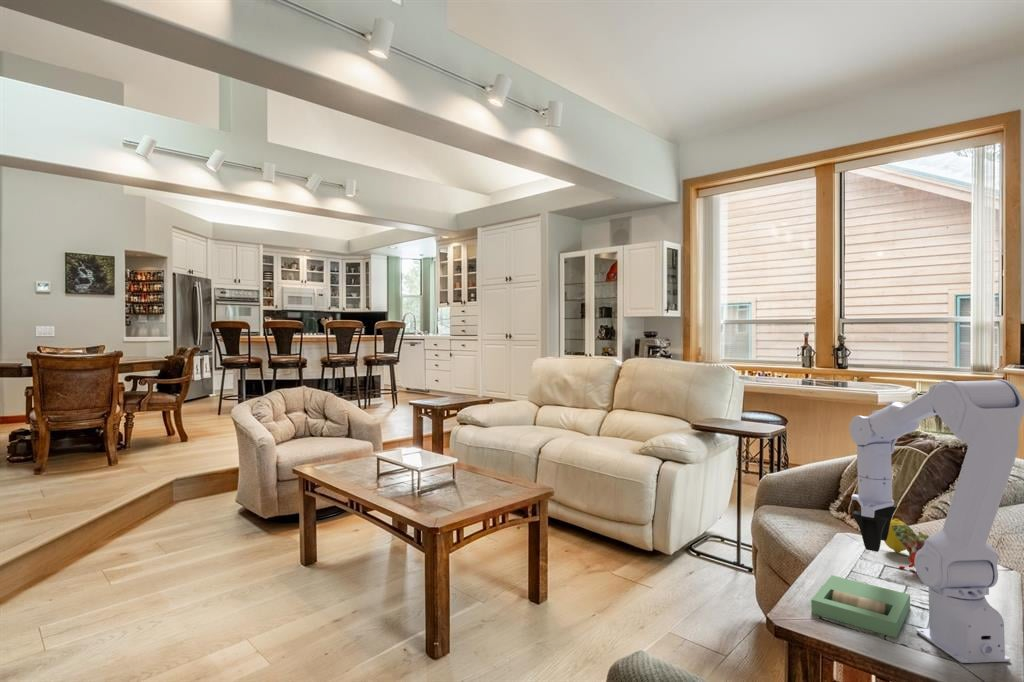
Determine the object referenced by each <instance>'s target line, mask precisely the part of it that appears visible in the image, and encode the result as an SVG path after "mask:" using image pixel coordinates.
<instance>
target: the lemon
mask: <svg viewBox="0 0 1024 682" xmlns="http://www.w3.org/2000/svg"><path fill="white" fill-rule="evenodd" d="M898 524H906V523H905V522H903V521H901V520H900V519H899V518H893V519H891V523H890V527H889V533H888V537H887V540H886V541H884V540H883V541H884V543H885V545H886V546H887V547H888V548H889V549H890V550H893V551H894V553H896V554H900V553H901V552H903V551H907V550H906V549H905V547H904V546H903V545H902V543H901V542H900V541H899V539H898V538H897V537H896V535H895V532H894V530H893V529H892V526H893V525H898Z"/></svg>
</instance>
